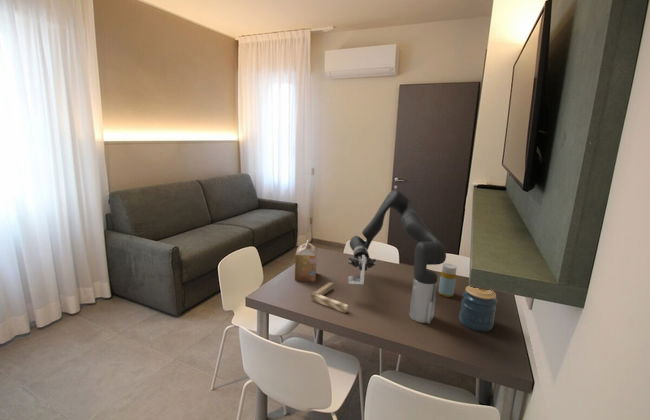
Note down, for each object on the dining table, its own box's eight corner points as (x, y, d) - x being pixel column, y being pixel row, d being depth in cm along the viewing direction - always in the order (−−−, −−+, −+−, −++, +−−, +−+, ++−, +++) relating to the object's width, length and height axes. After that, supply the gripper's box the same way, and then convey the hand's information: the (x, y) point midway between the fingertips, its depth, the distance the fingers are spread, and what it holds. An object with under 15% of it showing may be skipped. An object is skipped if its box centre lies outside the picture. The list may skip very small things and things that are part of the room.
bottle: (437, 295, 152) (441, 266, 149) (439, 289, 158) (443, 262, 155) (452, 299, 149) (456, 269, 146) (454, 293, 155) (458, 265, 152)
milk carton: (315, 281, 161) (316, 246, 157) (294, 280, 161) (295, 245, 157) (316, 273, 171) (317, 240, 167) (296, 271, 171) (297, 238, 167)
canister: (497, 334, 122) (505, 293, 119) (462, 329, 125) (468, 288, 121) (487, 317, 135) (494, 279, 131) (455, 312, 137) (461, 275, 133)
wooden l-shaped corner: (362, 298, 145) (362, 292, 145) (345, 313, 132) (345, 306, 131) (329, 287, 155) (329, 281, 154) (310, 300, 142) (311, 294, 141)
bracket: (362, 279, 143) (364, 254, 140) (363, 284, 138) (365, 259, 135) (348, 278, 144) (350, 254, 141) (348, 283, 139) (350, 258, 136)
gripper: (347, 247, 153) (348, 259, 136) (375, 248, 153) (379, 261, 136) (346, 261, 155) (347, 275, 138) (374, 263, 154) (378, 277, 137)
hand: (363, 268), depth 137 cm, fingers closed on bracket, 1 cm apart
